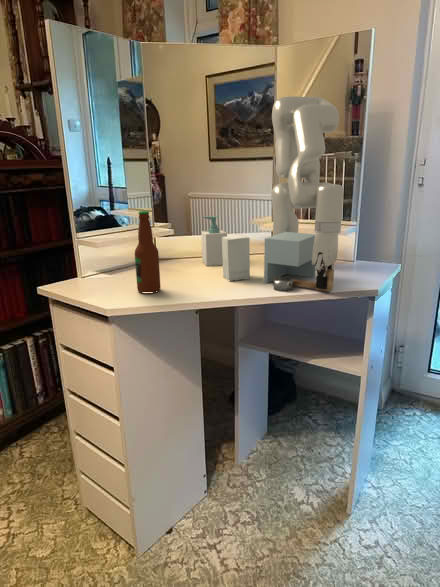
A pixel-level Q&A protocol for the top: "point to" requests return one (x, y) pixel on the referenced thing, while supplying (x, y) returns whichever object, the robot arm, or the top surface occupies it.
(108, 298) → the top surface
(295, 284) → the brown piece
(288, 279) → the puck
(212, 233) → the soap bottle
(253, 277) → the top surface
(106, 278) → the top surface
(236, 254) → the skincare box
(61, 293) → the top surface
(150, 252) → the bottle
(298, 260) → the cabinet
